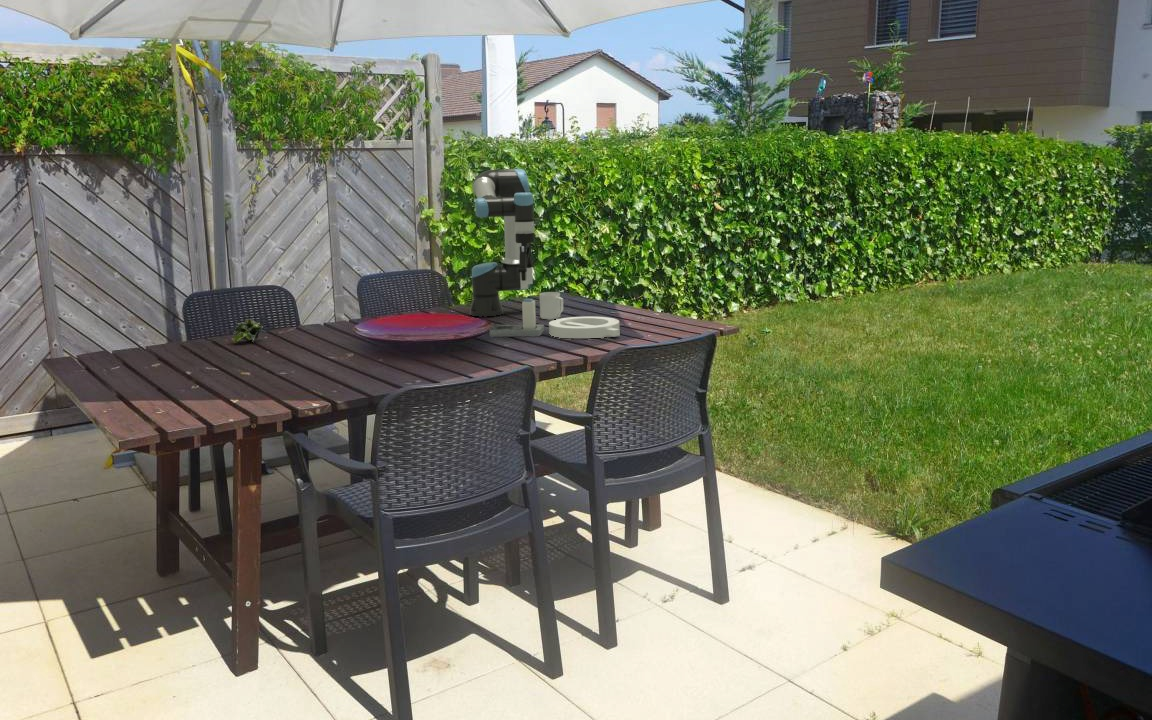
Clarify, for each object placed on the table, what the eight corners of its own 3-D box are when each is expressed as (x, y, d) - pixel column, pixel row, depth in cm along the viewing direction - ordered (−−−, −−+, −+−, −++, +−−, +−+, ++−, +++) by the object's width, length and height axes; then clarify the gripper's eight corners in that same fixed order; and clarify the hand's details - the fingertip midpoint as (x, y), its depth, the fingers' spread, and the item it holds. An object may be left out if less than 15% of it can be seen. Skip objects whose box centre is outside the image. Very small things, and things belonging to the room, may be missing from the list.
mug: (536, 319, 409) (535, 293, 407) (550, 316, 416) (549, 291, 413) (556, 321, 401) (555, 295, 399) (570, 318, 408) (569, 293, 405)
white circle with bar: (620, 339, 358) (620, 327, 358) (547, 341, 359) (547, 329, 358) (618, 327, 386) (618, 315, 385) (550, 328, 387) (550, 317, 386)
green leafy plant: (252, 354, 377) (266, 328, 379) (257, 353, 367) (272, 326, 370) (226, 341, 372) (240, 314, 375) (230, 340, 362) (245, 312, 365)
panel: (495, 330, 383) (495, 324, 382) (544, 330, 381) (544, 324, 380) (489, 336, 370) (489, 330, 370) (539, 336, 368) (539, 330, 367)
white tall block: (525, 332, 377) (523, 298, 374) (536, 332, 377) (534, 298, 374) (523, 334, 373) (522, 300, 370) (534, 334, 372) (533, 300, 370)
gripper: (529, 235, 354) (531, 290, 359) (538, 229, 379) (540, 282, 383) (510, 235, 355) (512, 290, 360) (520, 230, 379) (522, 282, 384)
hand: (526, 286), depth 371 cm, fingers open, 13 cm apart
